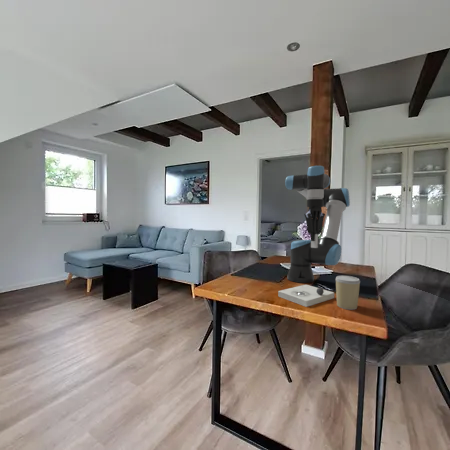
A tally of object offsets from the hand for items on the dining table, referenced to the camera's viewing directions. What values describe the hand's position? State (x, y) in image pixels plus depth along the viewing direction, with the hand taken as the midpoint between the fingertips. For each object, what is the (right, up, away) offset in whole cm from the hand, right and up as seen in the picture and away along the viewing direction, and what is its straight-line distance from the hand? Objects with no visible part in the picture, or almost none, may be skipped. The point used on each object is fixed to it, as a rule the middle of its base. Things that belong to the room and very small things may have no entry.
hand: (314, 247), depth 124 cm
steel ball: (-9, -21, -8) cm, 24 cm away
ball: (0, -19, -9) cm, 21 cm away
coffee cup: (+8, -24, -16) cm, 30 cm away
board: (-6, -23, -5) cm, 24 cm away
